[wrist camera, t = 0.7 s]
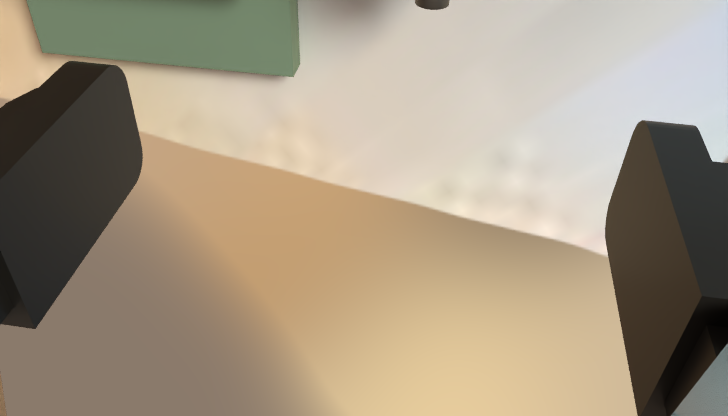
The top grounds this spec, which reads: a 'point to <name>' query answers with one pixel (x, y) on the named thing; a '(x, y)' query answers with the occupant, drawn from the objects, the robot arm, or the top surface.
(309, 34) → the top surface
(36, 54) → the top surface
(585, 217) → the top surface
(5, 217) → the robot arm
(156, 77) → the top surface
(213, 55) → the board
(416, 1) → the keyed plug
